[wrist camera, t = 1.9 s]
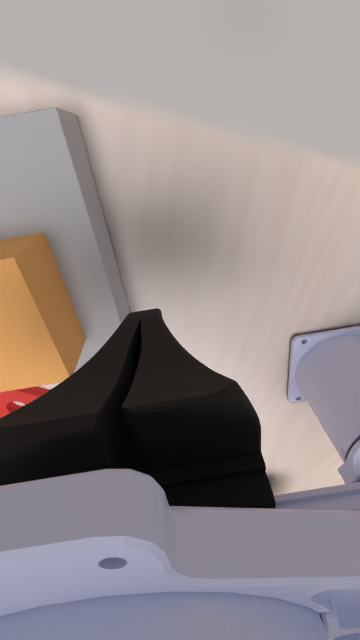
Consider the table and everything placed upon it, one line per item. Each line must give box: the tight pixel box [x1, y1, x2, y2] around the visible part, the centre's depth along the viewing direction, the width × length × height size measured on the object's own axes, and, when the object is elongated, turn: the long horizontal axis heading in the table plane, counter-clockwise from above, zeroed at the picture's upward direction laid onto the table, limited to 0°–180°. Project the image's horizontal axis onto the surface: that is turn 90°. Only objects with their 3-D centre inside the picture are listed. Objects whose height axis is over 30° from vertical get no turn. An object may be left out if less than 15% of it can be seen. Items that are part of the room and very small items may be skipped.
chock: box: [0, 233, 86, 392], centre depth 16 cm, size 5×7×4 cm
